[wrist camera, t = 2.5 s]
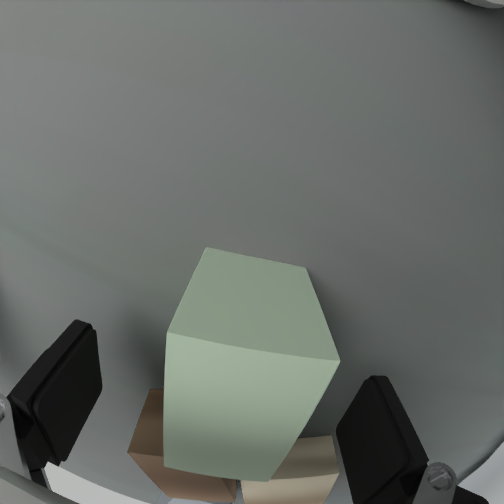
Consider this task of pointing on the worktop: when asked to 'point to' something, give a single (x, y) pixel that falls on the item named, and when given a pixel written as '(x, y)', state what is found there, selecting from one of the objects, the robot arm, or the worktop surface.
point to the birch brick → (298, 475)
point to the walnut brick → (152, 460)
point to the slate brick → (184, 500)
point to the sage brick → (243, 366)
